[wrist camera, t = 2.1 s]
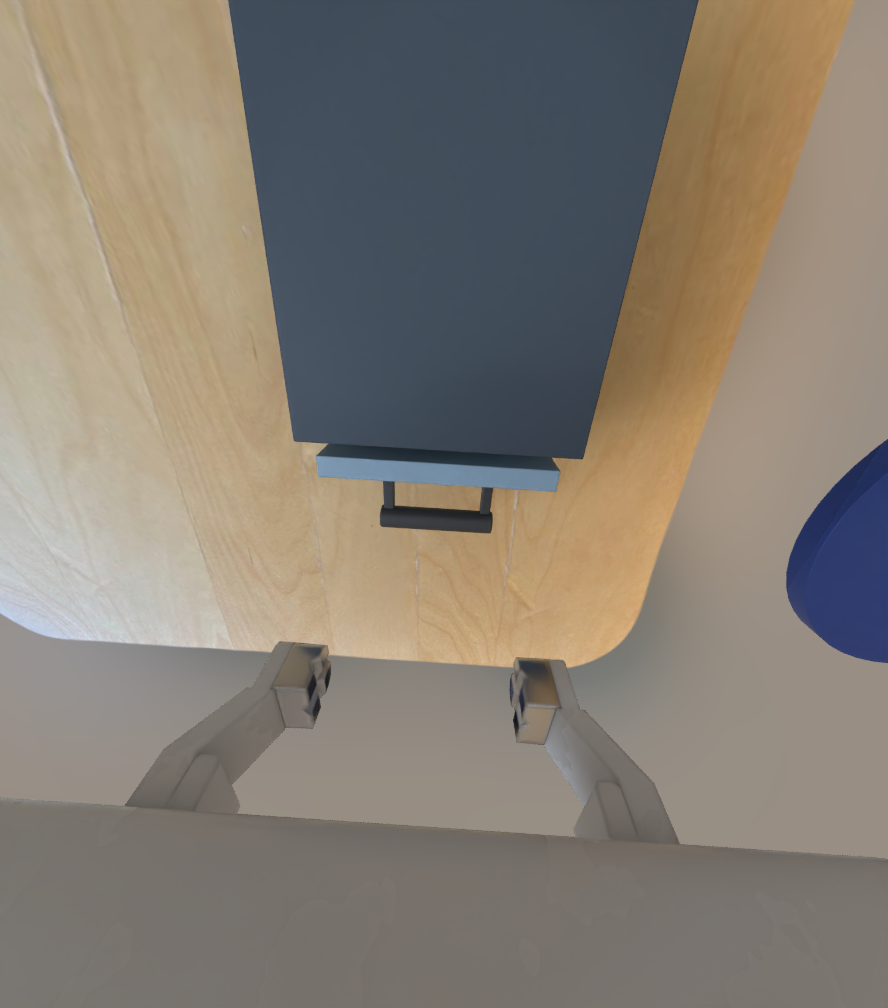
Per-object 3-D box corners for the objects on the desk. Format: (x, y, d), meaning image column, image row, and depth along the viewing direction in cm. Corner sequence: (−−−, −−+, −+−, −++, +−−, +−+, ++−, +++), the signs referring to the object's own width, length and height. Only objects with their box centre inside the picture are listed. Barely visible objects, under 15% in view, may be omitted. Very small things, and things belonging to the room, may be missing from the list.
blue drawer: (521, 503, 27) (541, 558, 21) (356, 493, 27) (326, 544, 21) (580, 174, 18) (644, 99, 12) (333, 160, 18) (269, 77, 12)
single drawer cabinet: (543, 415, 24) (583, 459, 17) (345, 403, 25) (293, 441, 17) (603, 90, 17) (724, -101, 9) (320, 73, 17) (207, -131, 9)
